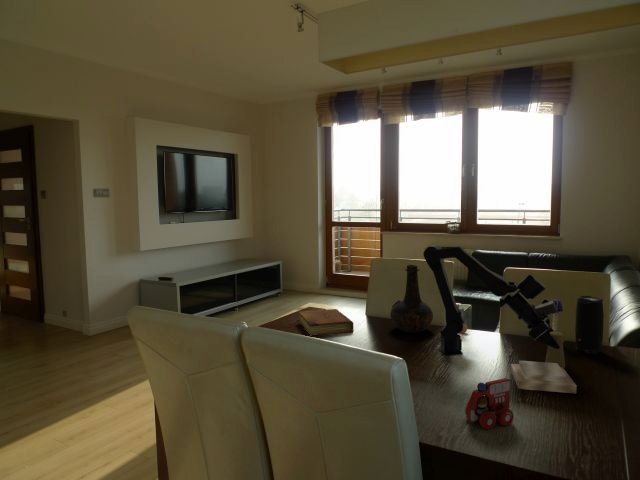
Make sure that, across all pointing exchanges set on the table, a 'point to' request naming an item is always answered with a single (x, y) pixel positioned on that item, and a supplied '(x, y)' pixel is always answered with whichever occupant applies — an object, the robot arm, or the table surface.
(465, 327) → the figurine
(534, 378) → the stepped square base
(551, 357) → the brown ball-topped peg
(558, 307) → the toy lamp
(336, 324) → the diary
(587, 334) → the portable speaker
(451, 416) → the table surface
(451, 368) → the table surface
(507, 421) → the toy fire truck
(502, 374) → the table surface
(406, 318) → the glass bottle
